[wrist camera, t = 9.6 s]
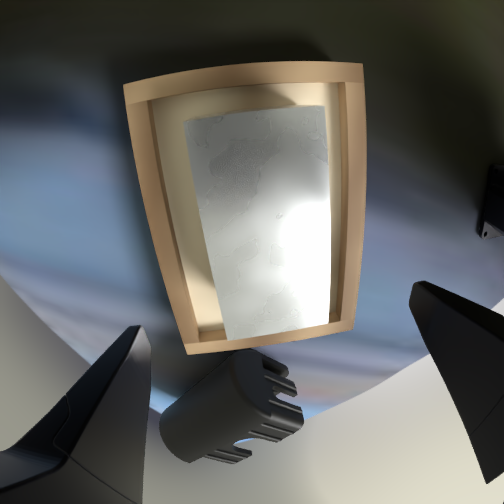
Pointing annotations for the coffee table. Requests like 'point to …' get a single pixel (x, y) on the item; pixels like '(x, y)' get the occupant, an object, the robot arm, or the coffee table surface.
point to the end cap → (232, 410)
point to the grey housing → (265, 215)
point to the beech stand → (184, 197)
